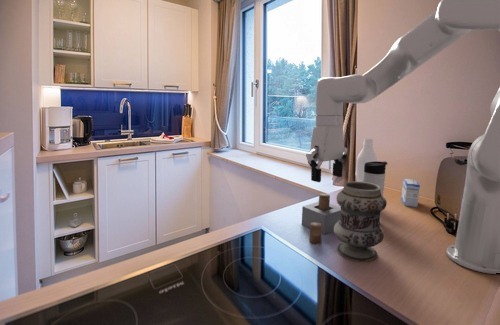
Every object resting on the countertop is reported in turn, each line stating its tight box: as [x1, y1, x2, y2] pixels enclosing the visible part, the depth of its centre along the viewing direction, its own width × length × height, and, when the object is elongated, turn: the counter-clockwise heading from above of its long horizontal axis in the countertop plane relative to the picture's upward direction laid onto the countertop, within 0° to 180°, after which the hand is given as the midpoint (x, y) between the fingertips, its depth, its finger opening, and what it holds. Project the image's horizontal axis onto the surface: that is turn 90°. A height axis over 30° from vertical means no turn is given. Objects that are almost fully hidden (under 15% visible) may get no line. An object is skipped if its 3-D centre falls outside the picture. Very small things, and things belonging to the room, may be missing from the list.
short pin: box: [308, 223, 323, 245], centre depth 83 cm, size 3×3×5 cm
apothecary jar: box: [333, 181, 388, 263], centre depth 76 cm, size 12×12×18 cm
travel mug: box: [363, 160, 388, 221], centre depth 95 cm, size 6×7×20 cm
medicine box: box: [400, 178, 421, 208], centre depth 114 cm, size 8×4×9 cm, turn 162°
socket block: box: [301, 201, 341, 235], centre depth 93 cm, size 9×9×6 cm
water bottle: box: [354, 137, 378, 182], centre depth 112 cm, size 7×7×25 cm
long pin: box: [318, 193, 331, 211], centre depth 93 cm, size 3×3×10 cm
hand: (326, 178), depth 90 cm, fingers open, 9 cm apart
